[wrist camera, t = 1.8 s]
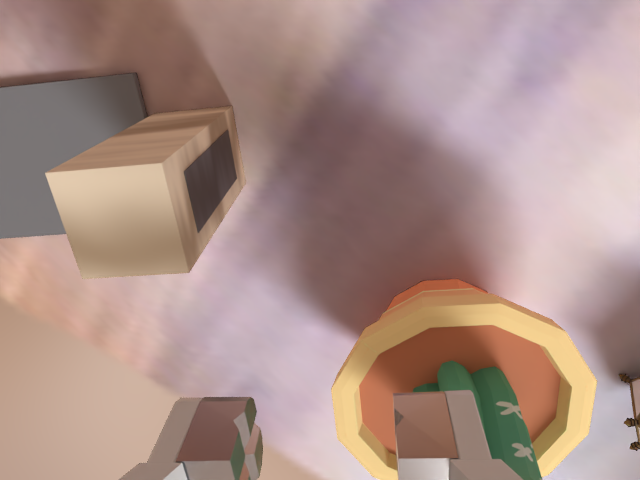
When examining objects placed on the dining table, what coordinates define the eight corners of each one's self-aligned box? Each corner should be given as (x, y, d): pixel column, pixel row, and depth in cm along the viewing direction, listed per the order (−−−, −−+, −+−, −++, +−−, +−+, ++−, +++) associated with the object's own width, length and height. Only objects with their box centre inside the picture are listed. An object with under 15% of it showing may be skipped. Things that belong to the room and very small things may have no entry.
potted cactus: (321, 392, 40) (269, 896, 18) (356, 218, 33) (346, 677, 11) (510, 424, 40) (702, 969, 18) (584, 257, 33) (1053, 798, 11)
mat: (-59, 93, 32) (-65, 94, 31) (136, 72, 30) (132, 73, 30) (1, 235, 36) (-4, 238, 35) (174, 223, 34) (171, 226, 34)
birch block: (154, 113, 31) (44, 172, 20) (232, 105, 31) (162, 163, 20) (173, 188, 33) (82, 278, 22) (246, 183, 33) (190, 272, 22)
